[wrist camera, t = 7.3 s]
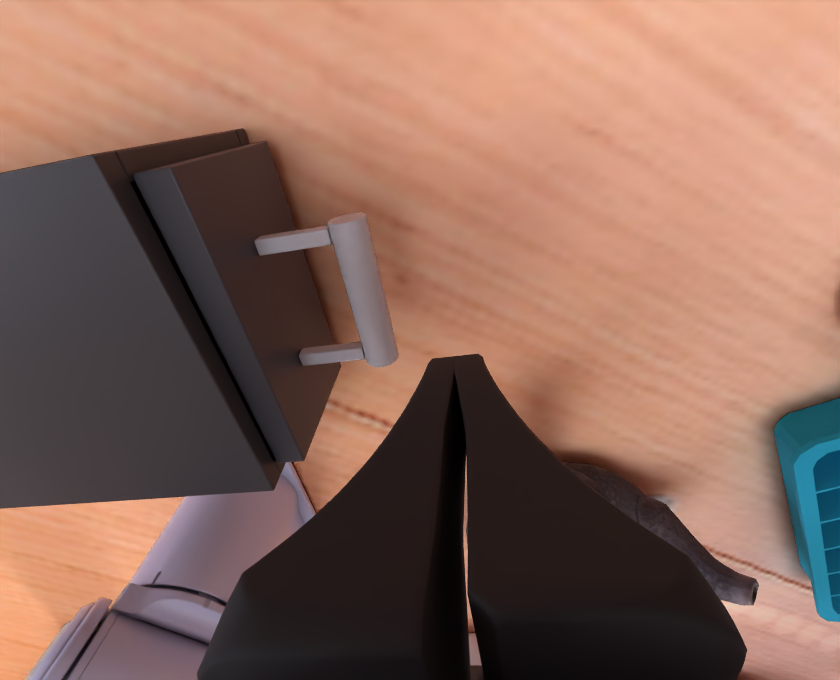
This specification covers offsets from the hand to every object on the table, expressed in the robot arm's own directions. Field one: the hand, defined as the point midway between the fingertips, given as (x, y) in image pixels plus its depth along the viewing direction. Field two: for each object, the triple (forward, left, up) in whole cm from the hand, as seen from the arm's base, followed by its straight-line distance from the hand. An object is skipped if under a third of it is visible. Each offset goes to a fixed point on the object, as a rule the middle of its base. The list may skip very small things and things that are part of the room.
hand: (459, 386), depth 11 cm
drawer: (+1, +11, -9) cm, 15 cm away
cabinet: (+1, +15, -10) cm, 18 cm away
